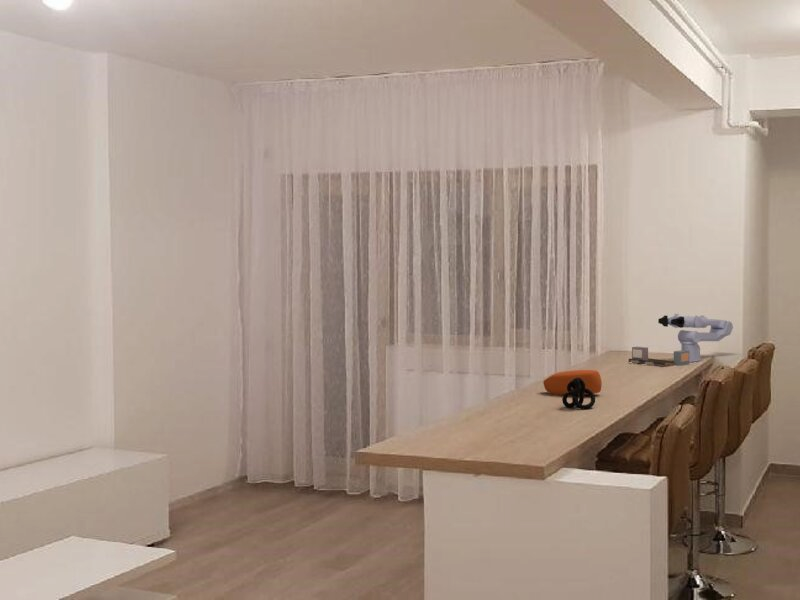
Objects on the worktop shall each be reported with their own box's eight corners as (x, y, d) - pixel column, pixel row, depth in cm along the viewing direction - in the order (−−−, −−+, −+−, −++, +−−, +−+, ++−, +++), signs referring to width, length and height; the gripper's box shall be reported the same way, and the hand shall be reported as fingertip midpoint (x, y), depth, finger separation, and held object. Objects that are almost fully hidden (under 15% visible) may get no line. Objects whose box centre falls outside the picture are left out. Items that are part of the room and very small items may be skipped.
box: (637, 360, 553) (637, 346, 553) (648, 361, 548) (648, 347, 547) (631, 360, 551) (631, 347, 550) (642, 362, 545) (642, 348, 545)
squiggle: (579, 422, 422) (580, 397, 434) (597, 408, 416) (599, 383, 428) (557, 405, 419) (559, 381, 431) (575, 391, 413) (578, 367, 425)
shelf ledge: (638, 361, 555) (638, 357, 555) (674, 365, 538) (674, 361, 537) (628, 363, 550) (628, 358, 550) (663, 367, 533) (663, 362, 532)
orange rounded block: (540, 399, 456) (597, 396, 444) (537, 374, 455) (594, 370, 443) (550, 395, 466) (606, 392, 454) (547, 370, 466) (603, 367, 454)
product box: (673, 365, 539) (673, 351, 539) (682, 363, 543) (682, 350, 543) (680, 366, 536) (680, 351, 535) (689, 364, 540) (689, 350, 540)
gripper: (670, 313, 554) (653, 312, 545) (694, 314, 542) (677, 314, 534) (670, 326, 554) (653, 326, 545) (693, 328, 543) (676, 328, 534)
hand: (665, 321), depth 540 cm, fingers open, 7 cm apart
